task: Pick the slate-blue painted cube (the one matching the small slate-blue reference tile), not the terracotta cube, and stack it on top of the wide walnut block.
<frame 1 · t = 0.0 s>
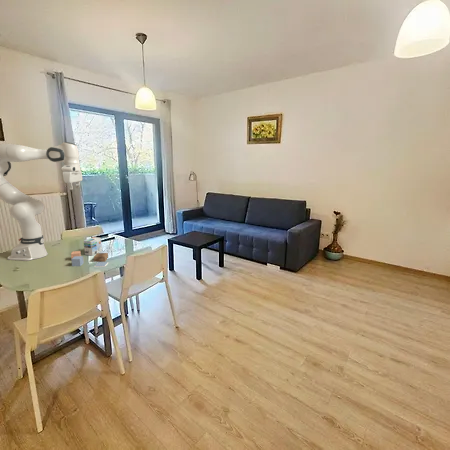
hand: (74, 188, 171), 48 cm above the table, fingers open, 8 cm apart
terracotta block: (76, 259, 176), on the table
reference tile: (101, 264, 168), on the table
slate block: (78, 264, 167), on the table
walnut block: (101, 260, 176), on the table
light bulb box: (93, 253, 188), on the table
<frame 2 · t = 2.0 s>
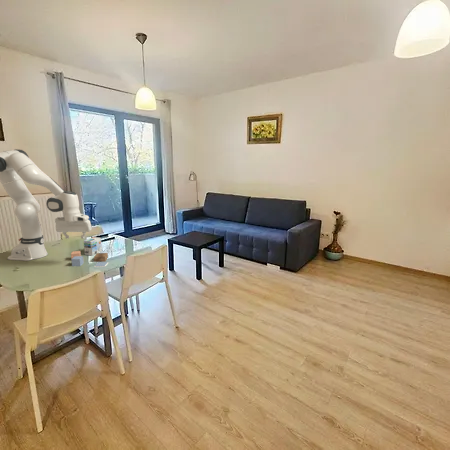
hand: (75, 238, 162), 18 cm above the table, fingers open, 8 cm apart
nothing on the table moved.
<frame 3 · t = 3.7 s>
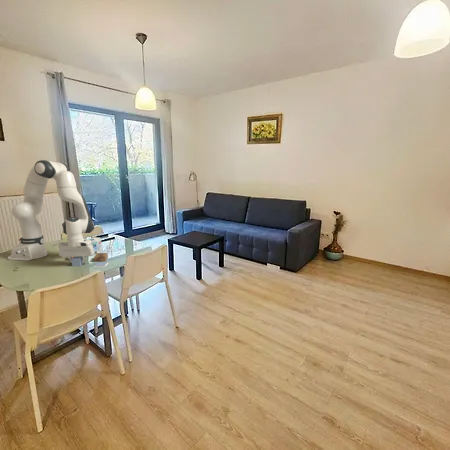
hand: (77, 262, 166), 2 cm above the table, fingers closed on slate block, 5 cm apart
slate block: (78, 264, 167), on the table, touching gripper
everything else where it was.
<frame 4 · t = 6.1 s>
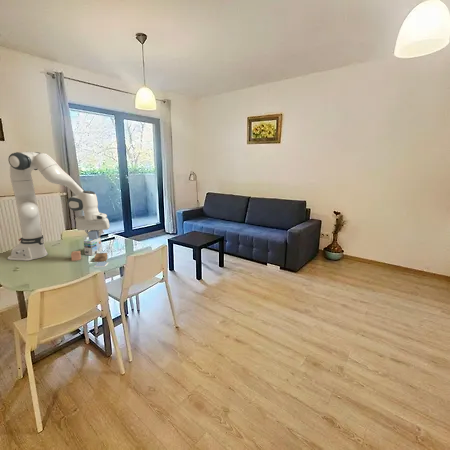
hand: (94, 235, 169), 18 cm above the table, fingers closed on slate block, 5 cm apart
slate block: (94, 238, 169), point 16 cm above the table, touching gripper
everything else where it was.
when the fingers open (7 cm above the table, at t = 8.1 s): slate block drops 1 cm, resting on walnut block.
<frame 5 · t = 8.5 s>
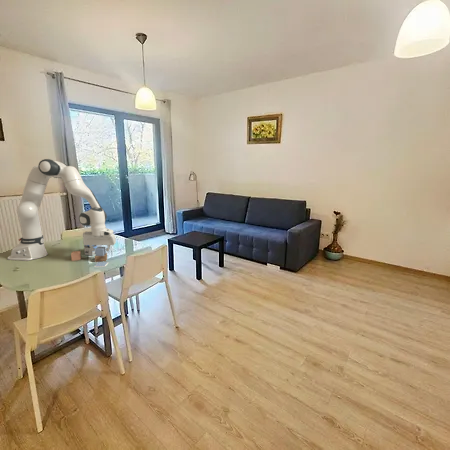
hand: (100, 250, 174), 7 cm above the table, fingers open, 8 cm apart
slate block: (100, 254, 175), point 4 cm above the table, touching walnut block
walnut block: (101, 260, 176), on the table, touching slate block
everything else where it was.
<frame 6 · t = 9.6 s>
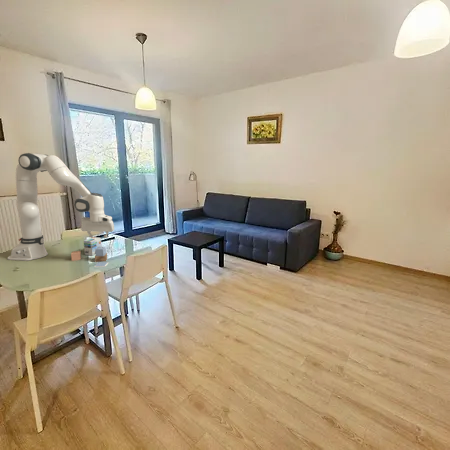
hand: (98, 237, 171), 16 cm above the table, fingers open, 8 cm apart
slate block: (101, 254, 175), point 4 cm above the table
walnut block: (101, 260, 176), on the table
everything else where it was.
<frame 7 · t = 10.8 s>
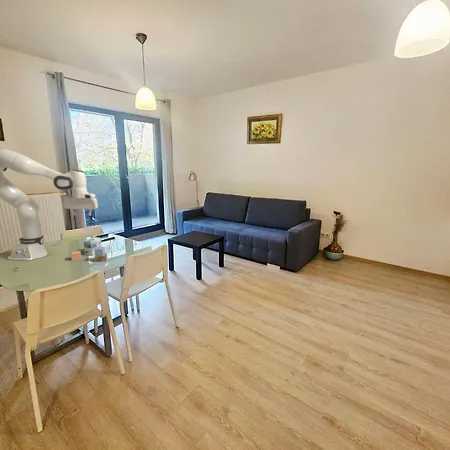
hand: (82, 215, 170), 31 cm above the table, fingers open, 8 cm apart
nothing on the table moved.
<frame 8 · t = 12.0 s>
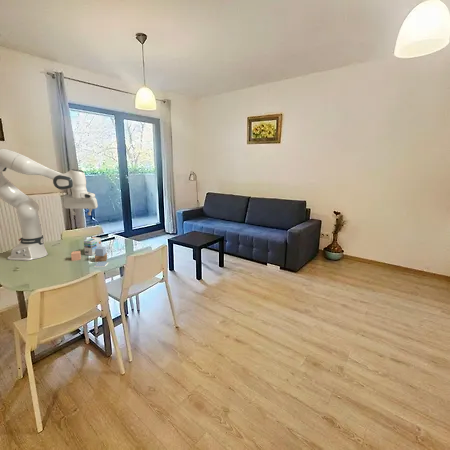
hand: (81, 215, 170), 31 cm above the table, fingers open, 8 cm apart
slate block: (100, 254, 175), point 4 cm above the table, touching walnut block
walnut block: (101, 260, 176), on the table, touching slate block
everything else where it was.
at the end: slate block 0.3 cm off-centre on the walnut block, point 4.0 cm above the walnut block's base; slate block tilted 0°; the gripper is holding nothing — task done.
